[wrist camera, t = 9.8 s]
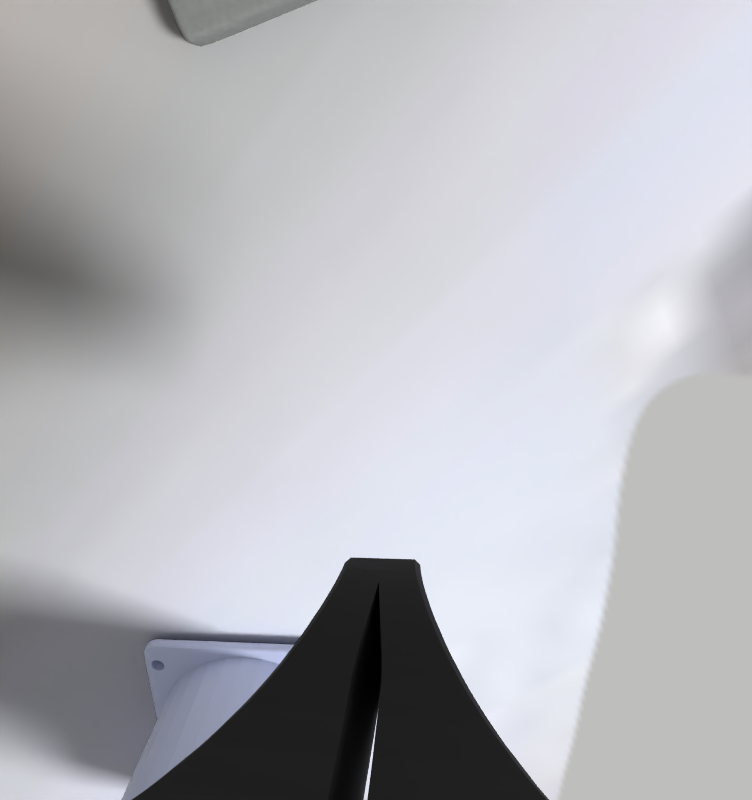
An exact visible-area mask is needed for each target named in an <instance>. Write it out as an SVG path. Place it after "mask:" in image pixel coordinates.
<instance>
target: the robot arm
mask: <svg viewBox="0 0 752 800" xmlns="http://www.w3.org/2000/svg"><path fill="white" fill-rule="evenodd" d="M144 657H145V662H146V667H147V672H148V677H149V682H150V687H151V692H152V697H153V702H154V707H155V712H156V717H157V722H156V724H155V726H154V728H153V731H152V733H151V735H150V737H149V740H148V742H147V744H146V746H145V748H144V751H143V753H142V755H141V757H140V760H139V762H138V764H137V766H136V769H135V771H134V773H133V775H132V777H131V780H130V782H129V784H128V786H127V789H126V791H125V793H124V795H123V798H122V800H363V798H364V792H365V786H366V780H367V774H368V768H369V762H370V756H371V750H372V744H373V738H374V731H375V725H376V719H377V726H376V734H375V743H374V752H373V761H372V769H371V777H370V785H369V793H368V800H549V799H548V798H547V797H546V796H545V795H544V793H543V792H542V791H541V790H540V789H539V788H538V787H537V785H536V784H535V783H534V781H533V780H532V779H531V777H530V776H529V775H528V774H527V772H526V771H525V770H524V768H523V767H522V766H521V765H520V763H519V762H518V761H517V759H516V758H515V757H514V755H513V754H512V753H511V752H510V750H509V749H508V748H507V746H506V745H505V744H504V742H503V741H502V740H501V738H500V737H499V735H498V734H497V732H496V731H495V729H494V728H493V726H492V725H491V723H490V722H489V720H488V719H487V717H486V716H485V714H484V713H483V711H482V709H481V708H480V706H479V705H478V703H477V702H476V700H475V698H474V697H473V695H472V693H471V691H470V690H469V688H468V686H467V684H466V683H465V681H464V679H463V677H462V675H461V674H460V672H459V670H458V668H457V666H456V664H455V662H454V660H453V658H452V656H451V654H450V652H449V650H448V648H447V646H446V644H445V641H444V639H443V637H442V634H441V632H440V630H439V627H438V625H437V623H436V620H435V618H434V615H433V613H432V610H431V607H430V604H429V601H428V598H427V595H426V592H425V589H424V585H423V581H422V576H421V570H420V564H419V563H418V562H417V561H416V560H412V559H379V558H350V559H349V560H348V561H346V562H345V564H344V566H343V569H342V571H341V573H340V575H339V577H338V578H337V580H336V582H335V584H334V586H333V587H332V589H331V591H330V593H329V594H328V596H327V598H326V599H325V601H324V603H323V604H322V606H321V607H320V609H319V610H318V612H317V613H316V615H315V616H314V618H313V619H312V621H311V622H310V624H309V625H308V627H307V628H306V630H305V631H304V632H303V634H302V635H301V637H300V638H299V639H298V640H297V642H296V643H295V644H294V645H290V644H265V643H240V642H215V641H189V640H164V639H155V640H152V641H150V642H149V643H148V644H147V646H146V648H145V650H144ZM157 660H158V661H161V662H162V663H161V662H158V661H157ZM377 713H378V717H377Z"/></svg>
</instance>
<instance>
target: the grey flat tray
mask: <svg viewBox="0 0 752 800" xmlns="http://www.w3.org/2000/svg"><path fill="white" fill-rule="evenodd" d="M314 1H316V0H168V3H169V5H170V8H171V10H172V13H173V15H174V18H175V20H176V23H177V25H178V27H179V29H180V31H181V33H182V35H183V37H184V39H186V40H187V41H188V42H189V43H191V44H194V45H197V46H204V45H207V44H211V43H214V42H216V41H219V40H221V39H224V38H226V37H229V36H231V35H234V34H236V33H239V32H241V31H244V30H246V29H248V28H251V27H253V26H256V25H258V24H261V23H263V22H265V21H268V20H270V19H273V18H275V17H278V16H280V15H282V14H285V13H287V12H290V11H292V10H294V9H297V8H299V7H302V6H304V5H307V4H309V3H311V2H314Z"/></svg>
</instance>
